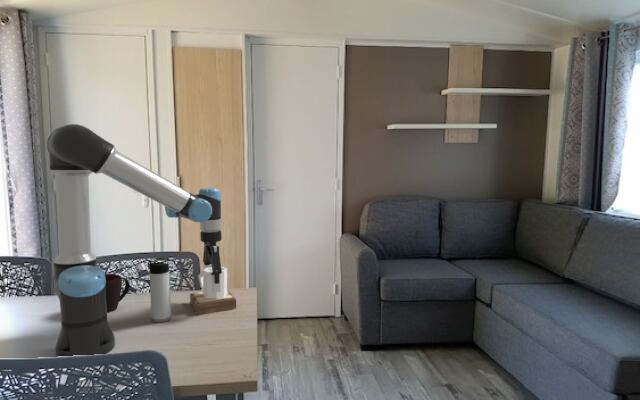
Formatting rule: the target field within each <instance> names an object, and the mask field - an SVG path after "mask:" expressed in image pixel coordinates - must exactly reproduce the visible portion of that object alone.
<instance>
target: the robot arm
mask: <svg viewBox="0 0 640 400" xmlns="http://www.w3.org/2000/svg"><path fill="white" fill-rule="evenodd" d="M46 148H47V152H48V156H49V158H48V159H49V160H48V161H49V171H50V172H51V173H52V174H53V175H54V176H55V182H56V183H55V184H56V185H55V186H56V204H57V205H56V206H57V207H56V209H57V234H58V235H57V236H58V255H57V256H56V258H54V259H53V276H52V280H51V281H52V282H51V283H52V288H53V290H54V292H55V294H56V295H57V298H58V300H59V307H60V321H61V322H60V323H61V328H60V332H59V335H58V338H57V342H56V345H55V356H73V355H94V354H103V355H106V354H107V353H109V352H110V351H112V350H113V349H114V348H115V346H116V337H115V335H114V332H113V329H112V328H111V324H110V323H109V321H108V313H107V304H106V278H105V271H104V269H102V268H101V267H99V266H97V265H98V263H97V256H96V255H95V254H93V252H92V247H91V246H92V245H91V217H90V216H91V215H90V189H89V188H90V186H89V183H90V182H89V176H90V175H92V173H94V174H96V175H97V174H103V175H105V176H107V177H108V178H111V179H113V180H114V181H117V182H118V183H120V184H122V185H124V186H125V187H126V186H127V187H128V188H130V189H132V190H133V191H136V192H137V193H139V194H142V195H143V196H145V197H148V198H149V199H151V200H152V201H153V202H156V203H158V204H160V205H162V206H164V211H165V215H166V216H167V217H168V218H175V219H177V218H184V219H187V220H190V221H193V222H194V223H199V230H200V233H199V235H200V241H201V242H202V243H204V244H203V245H204V246H203V258H202V262H203V267H204V269H206V268H209V267H212V271H213V273H211V275H212V291H213V293H214V292H221V289H220V274H221V273H222V271H221V267H222V266H221V257H220V246H219V245H217V243H218V242H221V241H222V230H221V229H222V224H223V220H222V203H221V202H222V199H221V198H222V197H221V196H222V195H221V191H220V189H219V188H216V187H215V188H214V187H204V188H200V189H199V192H198V194H193V193H191V192H190V191H187V189H184V188H182V187H180V186H179V185H177V184H176V183H174V182H172V181H170V180H168V179H167V178H166V177H165V178H164V177H163V176H162V175H160V174H158V173H156V172H154V171H153V170H151V169H149V168H147V167H145V166H144V165H143V164H140V163H139V162H137V161H135V160H134V159H131V158H130V157H128V156H127V155H124V154H123V153H121V152H119V151H118V150H116V146H115V145H114V144H113V143H111V142H109V141H107V140H106V139H105V138H103V137H101V136H100V135H99V134H97V133H96V132H94V130H91V129H89V128H88V127H86V126H84V125H81V124H76V123H75V124H74V123H72V124H71V123H70V124H66V125H62V126H59V127H57V128H56V129H54V130H53V131H52V132H51V133H50V135H49V136H48V137H47V141H46ZM204 269H203V270H204ZM216 270H218V271H216Z"/></svg>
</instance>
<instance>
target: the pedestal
mask: <svg viewBox="0 0 640 400" xmlns="http://www.w3.org/2000/svg"><path fill="white" fill-rule="evenodd" d="M189 302H190V304H192V305H191V306H192V308H193V310H194V311H196V312H195V313H196V315H197V316H198V314H199V315H204V314H203V313H205V314H211V313H210V312H212V313H217V312H216V311H218V312H223V311H222V310H225V311H229V310H228V309H231V310H234V309H233V308H236V309H237V299H236V297H235V296H234V295H233V294H232V293H231V292H230V291H229V290H228V289H227V295H226V296H225V297H222V298H218V299H207V298H206V297H204V296H203V291H197V292H192V293H189Z"/></svg>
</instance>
